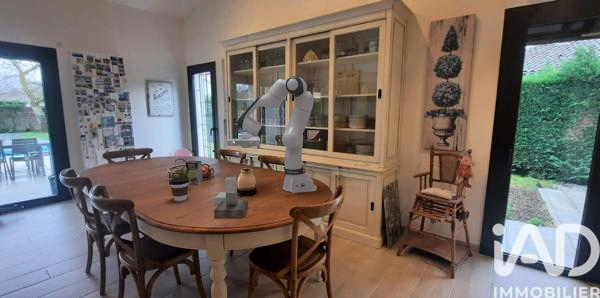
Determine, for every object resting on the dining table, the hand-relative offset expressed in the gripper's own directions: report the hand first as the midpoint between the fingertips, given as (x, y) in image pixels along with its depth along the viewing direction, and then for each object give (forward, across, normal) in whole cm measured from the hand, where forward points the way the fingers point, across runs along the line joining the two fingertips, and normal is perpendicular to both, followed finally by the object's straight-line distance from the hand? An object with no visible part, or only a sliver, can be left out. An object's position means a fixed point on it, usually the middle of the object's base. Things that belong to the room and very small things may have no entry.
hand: (241, 144), depth 164 cm
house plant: (-13, -42, +32) cm, 54 cm away
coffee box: (-29, -40, +32) cm, 59 cm away
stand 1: (+9, -8, +32) cm, 34 cm away
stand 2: (+26, -1, +32) cm, 41 cm away
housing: (+26, -1, +28) cm, 38 cm away
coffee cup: (+5, -36, +32) cm, 49 cm away
